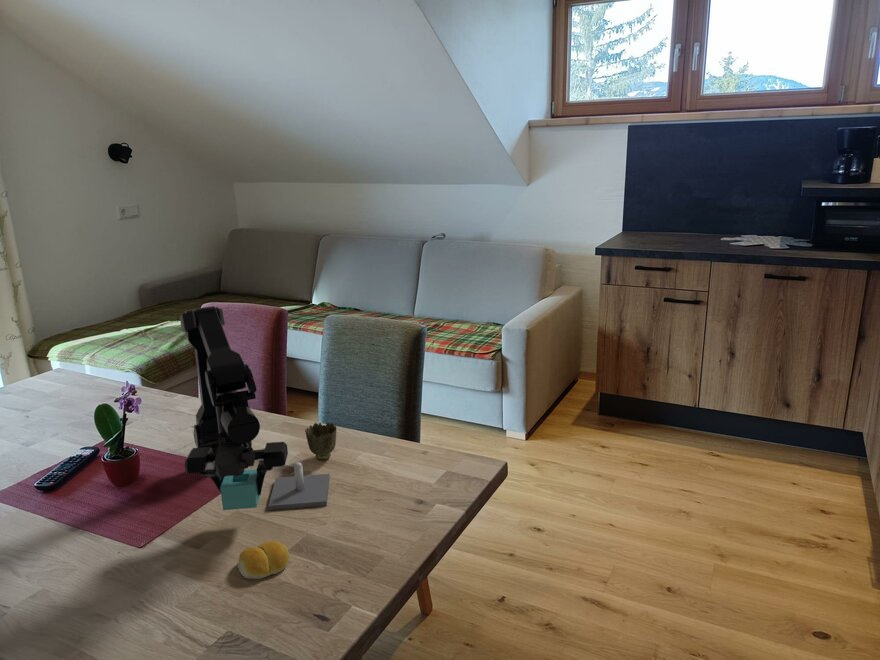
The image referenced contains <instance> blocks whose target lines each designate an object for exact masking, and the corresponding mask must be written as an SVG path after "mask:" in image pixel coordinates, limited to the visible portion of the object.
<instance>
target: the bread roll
mask: <svg viewBox="0 0 880 660" xmlns="http://www.w3.org/2000/svg"><path fill="white" fill-rule="evenodd" d="M238 557H239V558H238V562H237V568H238V571H239V572H240V574H241V575H242V577H243V578H245V579H248V580H260V579H263V578H266V577H269V576H271V575H275V574H276V575H277V574H279V573H280V572H282V571H284V570H285V569H286V567H287V565H288V563H289V560H290V552H289V550H288V548H287V546H286V545H285V544H283V542H279V541H275V540H274V541H273V540H272V541H264V542H261V543H260V544H258V545H257V546H249V547H247V548H244V549H243V550H242V551H241V553H240V554H239V556H238Z"/></svg>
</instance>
